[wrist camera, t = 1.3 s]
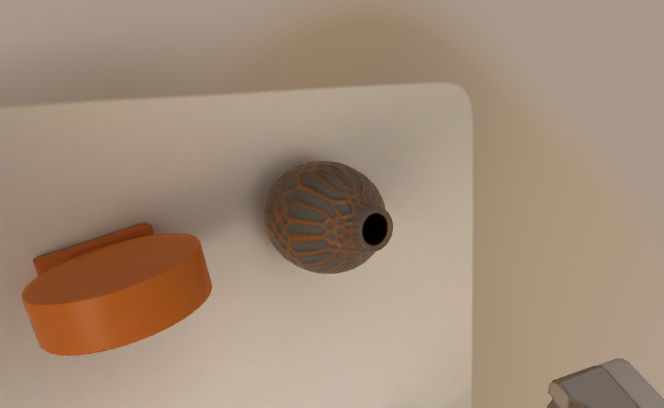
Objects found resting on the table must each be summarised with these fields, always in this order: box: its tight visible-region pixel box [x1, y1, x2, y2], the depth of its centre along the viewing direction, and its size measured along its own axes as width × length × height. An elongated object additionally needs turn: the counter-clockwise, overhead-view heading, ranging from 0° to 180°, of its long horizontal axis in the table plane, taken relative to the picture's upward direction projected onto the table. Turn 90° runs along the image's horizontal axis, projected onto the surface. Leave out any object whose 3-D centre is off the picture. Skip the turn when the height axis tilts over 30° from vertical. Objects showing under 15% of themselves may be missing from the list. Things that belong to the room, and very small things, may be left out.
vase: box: [265, 161, 393, 274], centre depth 33 cm, size 7×7×9 cm
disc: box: [22, 223, 212, 356], centre depth 26 cm, size 3×8×9 cm, turn 103°
